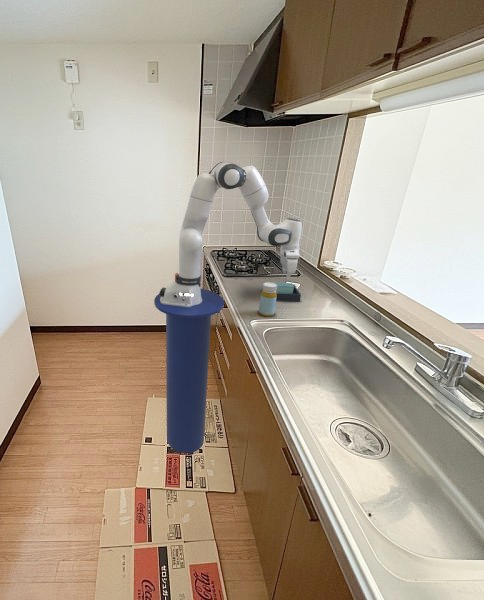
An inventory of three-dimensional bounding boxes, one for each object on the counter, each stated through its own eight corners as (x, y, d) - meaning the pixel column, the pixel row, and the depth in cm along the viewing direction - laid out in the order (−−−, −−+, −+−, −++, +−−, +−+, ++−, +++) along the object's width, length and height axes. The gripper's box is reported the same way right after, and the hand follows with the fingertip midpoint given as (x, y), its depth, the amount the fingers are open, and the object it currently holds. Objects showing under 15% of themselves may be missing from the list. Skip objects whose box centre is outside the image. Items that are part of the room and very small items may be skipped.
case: (274, 296, 175) (276, 285, 172) (272, 292, 179) (274, 282, 177) (292, 297, 173) (294, 286, 171) (290, 293, 178) (291, 283, 176)
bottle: (271, 318, 152) (276, 288, 146) (256, 314, 155) (260, 285, 149) (275, 312, 157) (279, 283, 151) (261, 309, 161) (264, 281, 155)
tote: (270, 300, 171) (271, 293, 169) (266, 290, 184) (267, 283, 183) (299, 301, 169) (301, 294, 167) (293, 291, 182) (294, 284, 181)
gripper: (279, 245, 176) (276, 269, 182) (287, 256, 158) (283, 282, 163) (291, 245, 175) (287, 270, 181) (300, 256, 157) (296, 283, 162)
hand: (285, 276), depth 172 cm, fingers open, 8 cm apart
